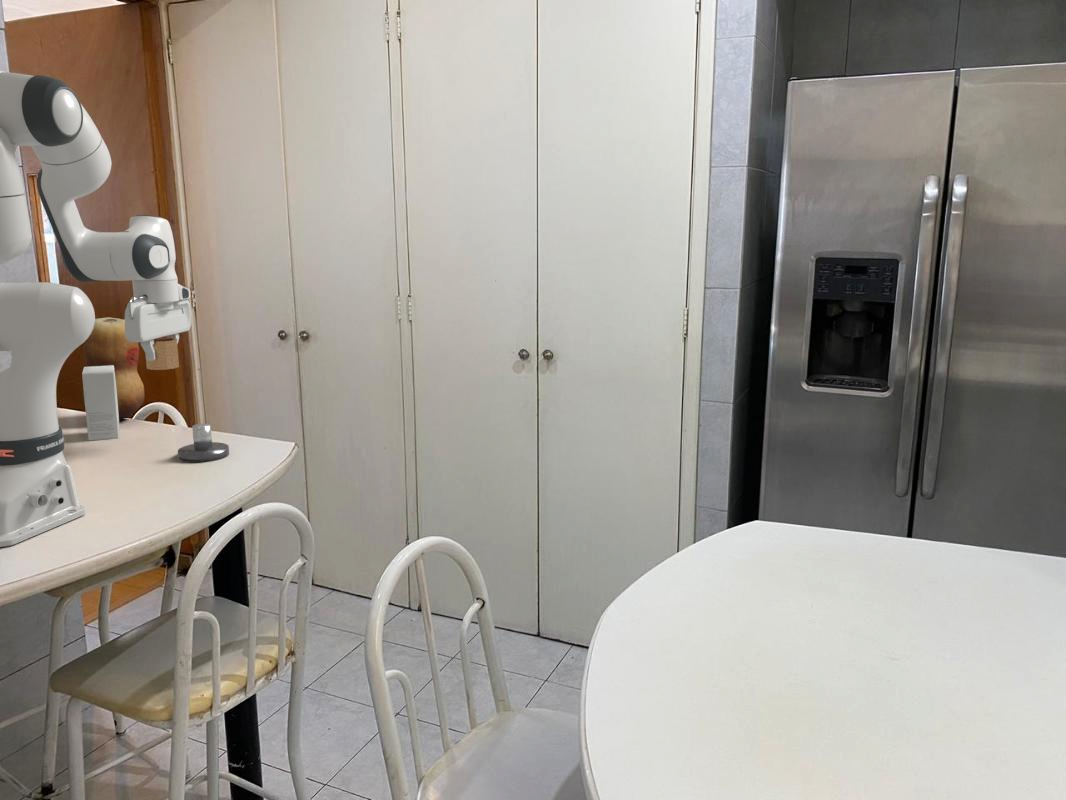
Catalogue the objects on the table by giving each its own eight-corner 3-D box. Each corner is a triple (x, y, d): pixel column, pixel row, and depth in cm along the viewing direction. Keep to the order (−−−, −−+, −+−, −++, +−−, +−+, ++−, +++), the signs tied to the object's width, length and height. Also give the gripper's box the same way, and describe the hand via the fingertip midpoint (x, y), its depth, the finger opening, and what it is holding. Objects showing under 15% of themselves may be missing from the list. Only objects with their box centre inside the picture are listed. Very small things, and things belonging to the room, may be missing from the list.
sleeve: (169, 370, 175) (166, 342, 173) (140, 369, 175) (138, 341, 174) (184, 365, 181) (182, 338, 180) (157, 364, 182) (154, 337, 180)
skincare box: (90, 432, 190) (82, 366, 187) (121, 429, 193) (114, 364, 189) (88, 441, 183) (80, 373, 179) (121, 438, 186) (113, 370, 182)
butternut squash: (128, 427, 195) (117, 322, 189) (74, 426, 196) (61, 321, 190) (157, 413, 209) (148, 315, 203) (106, 412, 209) (95, 314, 204)
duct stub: (215, 463, 168) (212, 432, 166) (168, 461, 169) (165, 431, 167) (237, 449, 178) (235, 420, 176) (193, 448, 179) (191, 419, 177)
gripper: (142, 297, 164) (148, 365, 167) (194, 289, 184) (199, 350, 187) (112, 297, 165) (119, 365, 168) (167, 289, 185) (173, 350, 188)
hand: (162, 357), depth 178 cm, fingers closed on sleeve, 6 cm apart
